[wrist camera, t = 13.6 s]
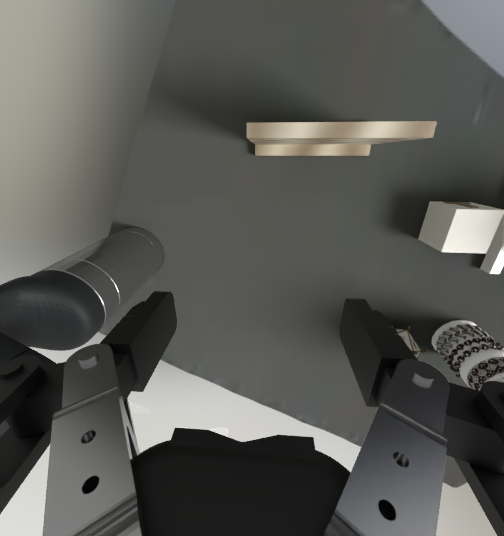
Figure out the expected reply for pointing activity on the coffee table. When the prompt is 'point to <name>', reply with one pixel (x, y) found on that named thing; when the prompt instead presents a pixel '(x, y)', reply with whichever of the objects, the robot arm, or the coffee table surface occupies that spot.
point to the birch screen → (331, 137)
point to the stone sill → (495, 252)
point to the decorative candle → (470, 352)
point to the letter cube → (460, 226)
